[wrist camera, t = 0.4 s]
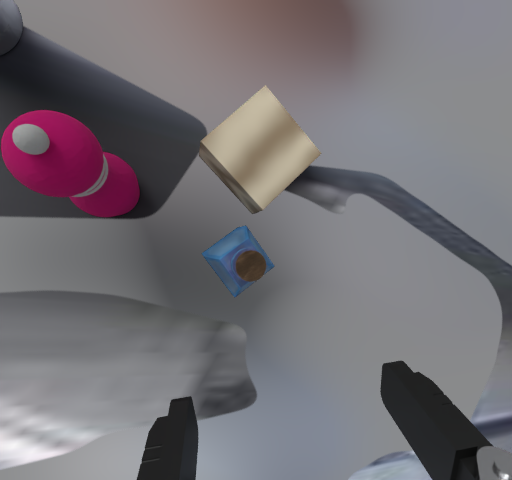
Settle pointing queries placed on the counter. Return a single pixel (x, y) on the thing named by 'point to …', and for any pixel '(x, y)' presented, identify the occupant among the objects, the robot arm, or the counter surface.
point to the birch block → (258, 151)
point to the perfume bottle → (238, 260)
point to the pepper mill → (68, 163)
